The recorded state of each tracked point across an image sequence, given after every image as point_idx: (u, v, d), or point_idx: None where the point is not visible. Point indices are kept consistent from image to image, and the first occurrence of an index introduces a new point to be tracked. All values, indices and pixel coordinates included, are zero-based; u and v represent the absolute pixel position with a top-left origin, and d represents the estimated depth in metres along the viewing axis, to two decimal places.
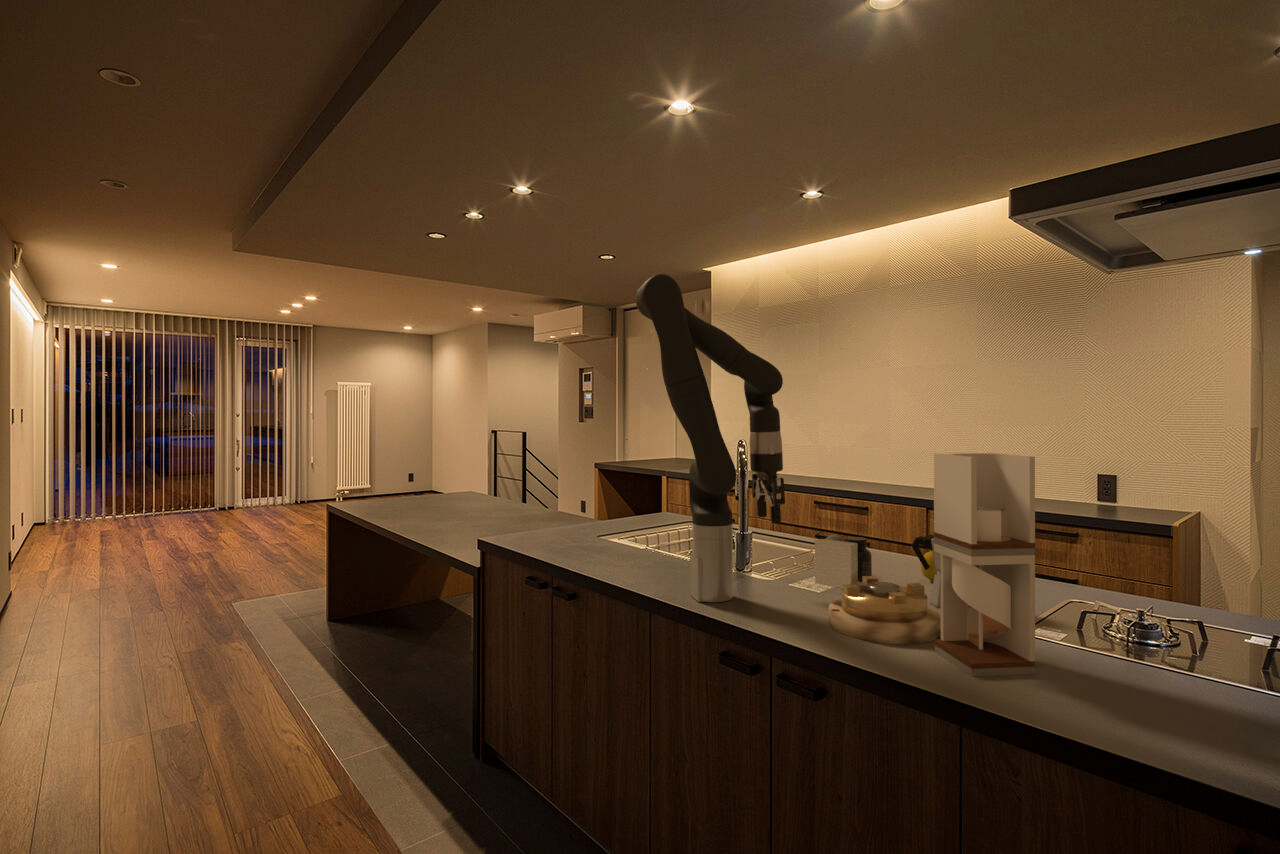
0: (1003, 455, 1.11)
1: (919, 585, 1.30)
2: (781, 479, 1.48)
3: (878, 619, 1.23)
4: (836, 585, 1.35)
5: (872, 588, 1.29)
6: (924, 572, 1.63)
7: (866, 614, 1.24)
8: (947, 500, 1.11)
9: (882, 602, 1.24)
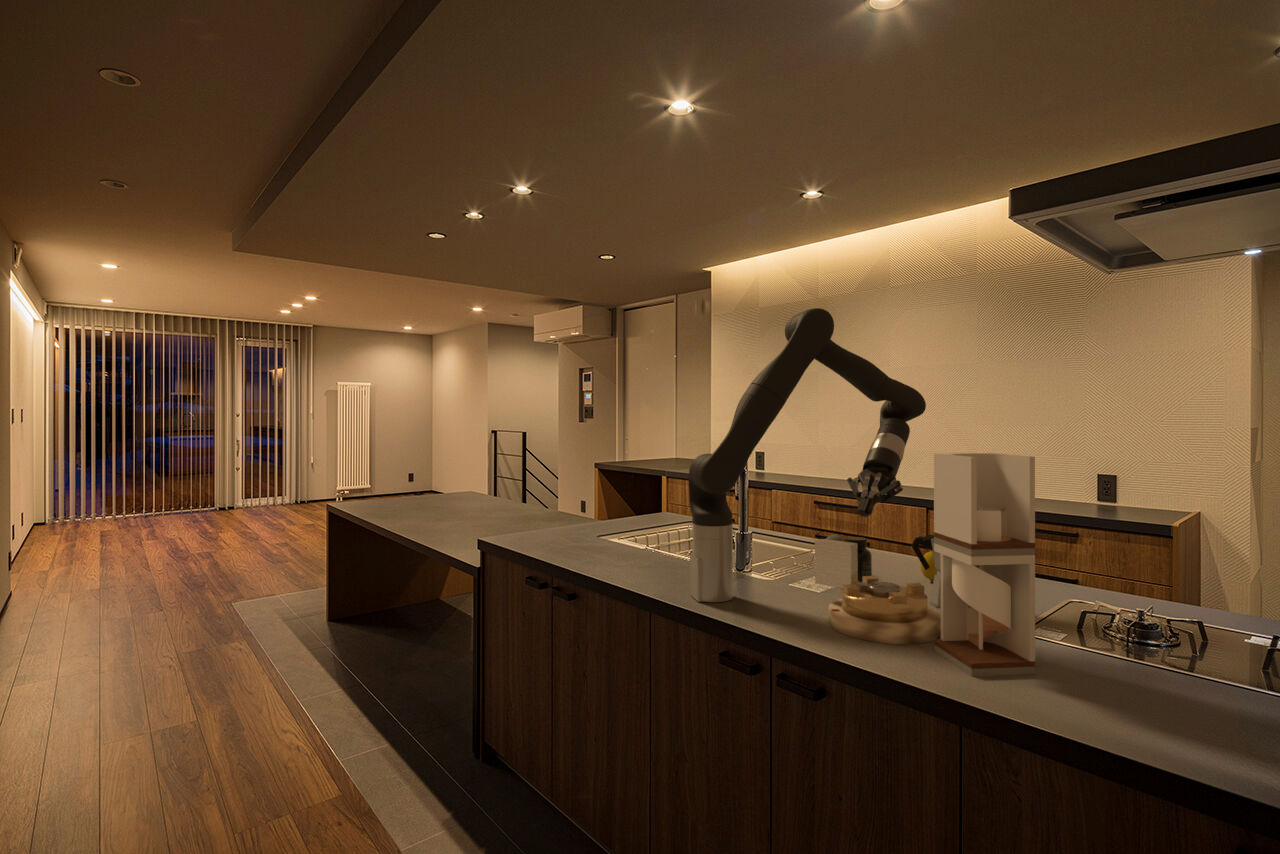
0: (1003, 455, 1.11)
1: (919, 585, 1.30)
2: (901, 488, 1.46)
3: (878, 619, 1.23)
4: (836, 585, 1.35)
5: (872, 588, 1.29)
6: (924, 572, 1.63)
7: (866, 614, 1.24)
8: (947, 500, 1.11)
9: (882, 602, 1.24)
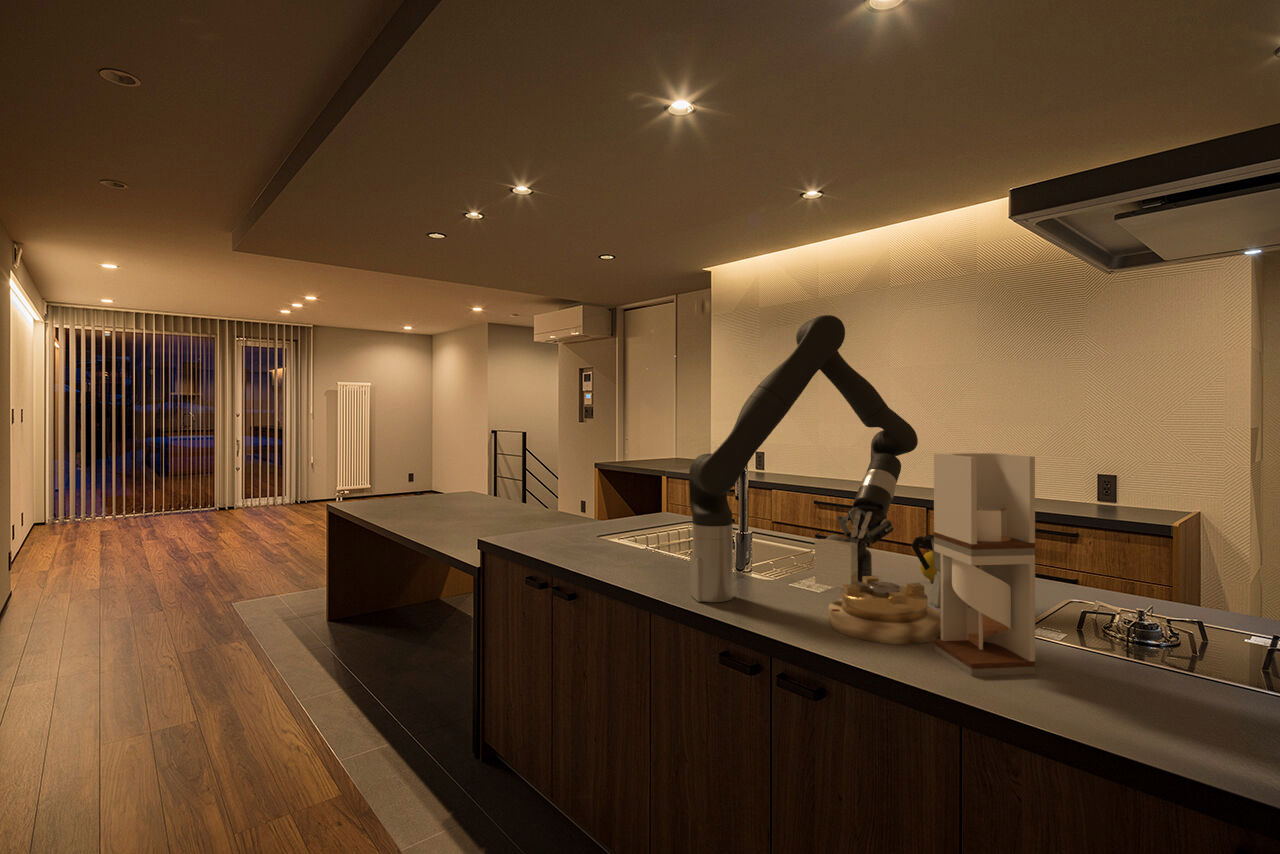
0: (1003, 455, 1.11)
1: (919, 585, 1.30)
2: (892, 528, 1.42)
3: (878, 619, 1.23)
4: (836, 585, 1.35)
5: (872, 588, 1.29)
6: (924, 572, 1.63)
7: (866, 614, 1.24)
8: (947, 500, 1.11)
9: (882, 602, 1.24)
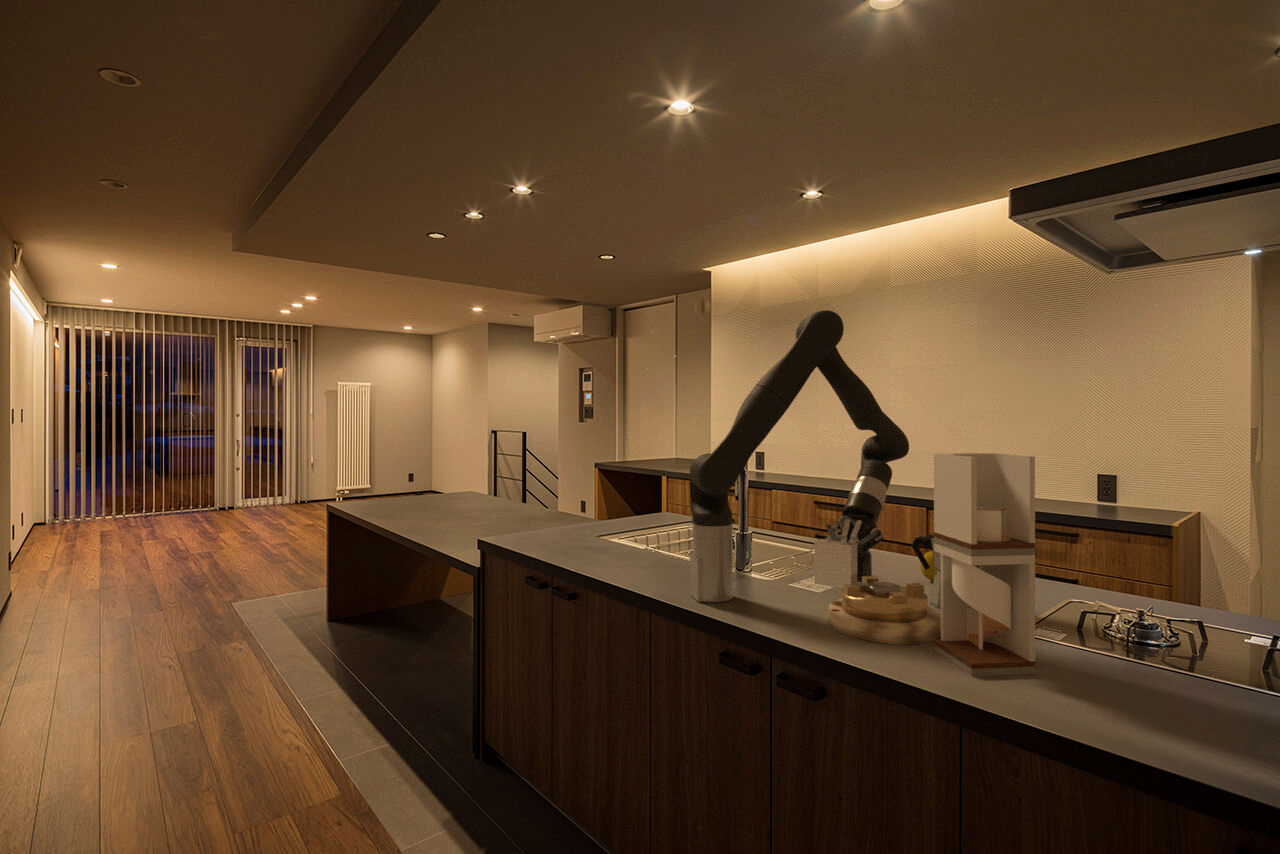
0: (1003, 455, 1.11)
1: (919, 585, 1.30)
2: (882, 537, 1.39)
3: (879, 619, 1.23)
4: (836, 585, 1.35)
5: (872, 588, 1.28)
6: (924, 572, 1.63)
7: (867, 614, 1.24)
8: (947, 500, 1.11)
9: (883, 602, 1.24)
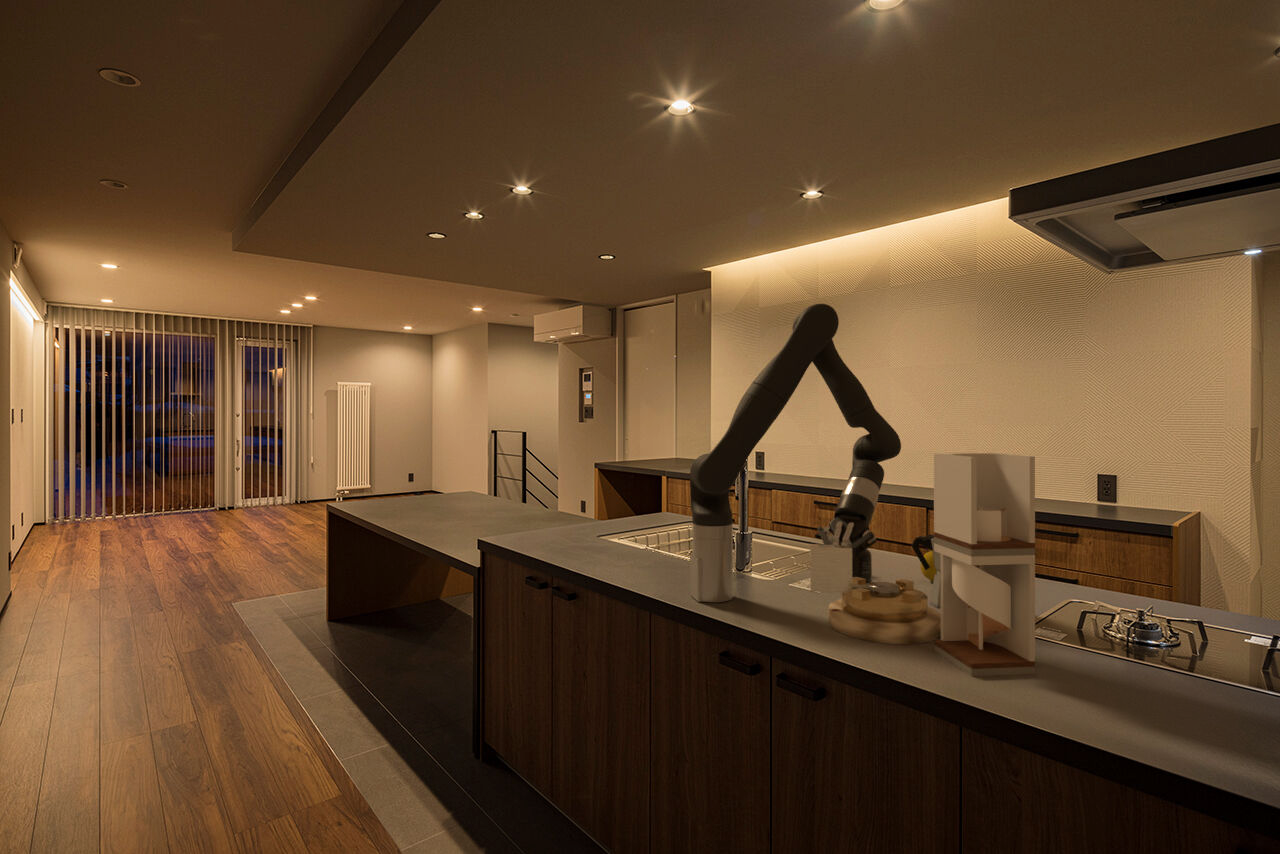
0: (1003, 455, 1.11)
1: (908, 581, 1.33)
2: (875, 540, 1.35)
3: (900, 621, 1.22)
4: (835, 591, 1.31)
5: (879, 589, 1.27)
6: (924, 572, 1.63)
7: (888, 617, 1.22)
8: (947, 500, 1.11)
9: (901, 603, 1.23)
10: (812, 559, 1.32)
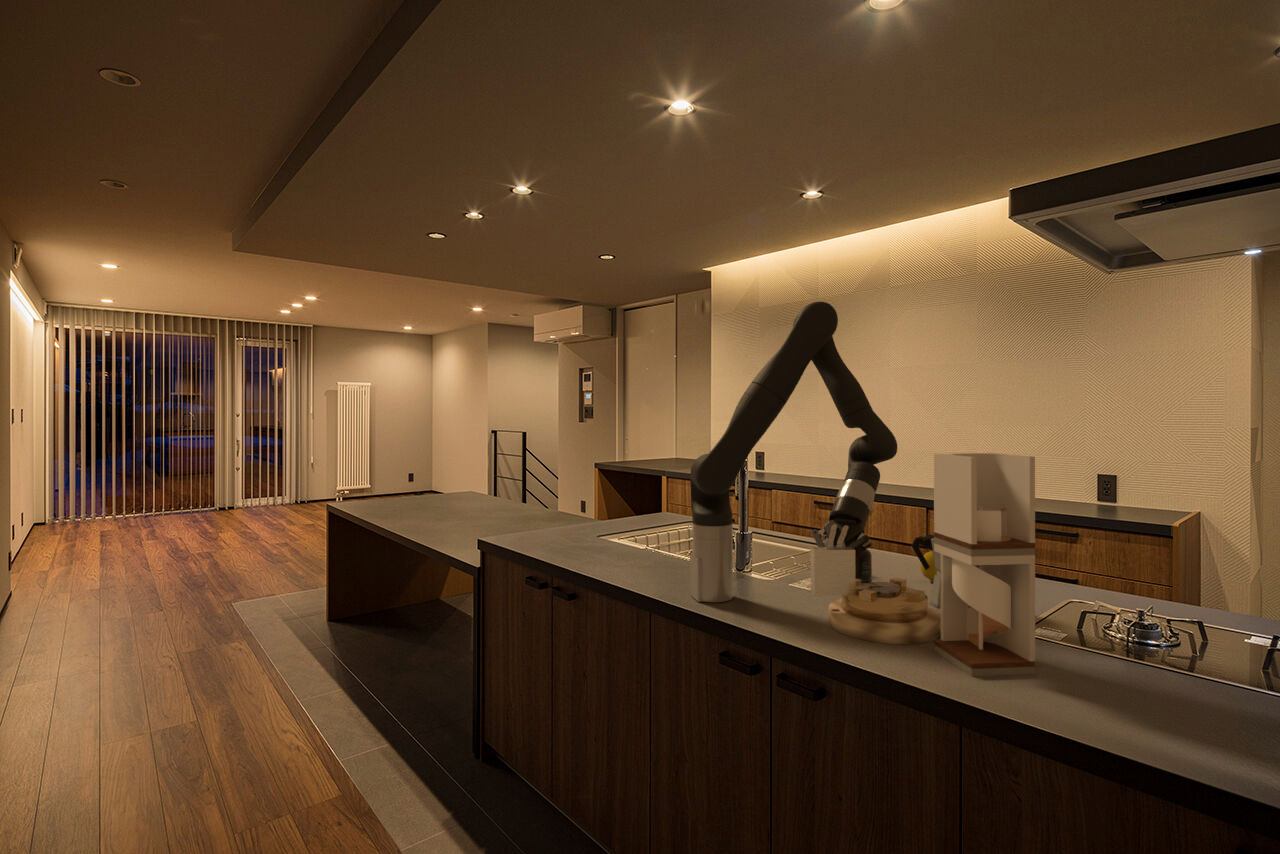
0: (1003, 455, 1.11)
1: (901, 579, 1.34)
2: (870, 543, 1.33)
3: (909, 620, 1.22)
4: (839, 593, 1.29)
5: (883, 590, 1.27)
6: (924, 572, 1.63)
7: (898, 617, 1.22)
8: (947, 500, 1.11)
9: (908, 602, 1.23)
10: (816, 562, 1.29)
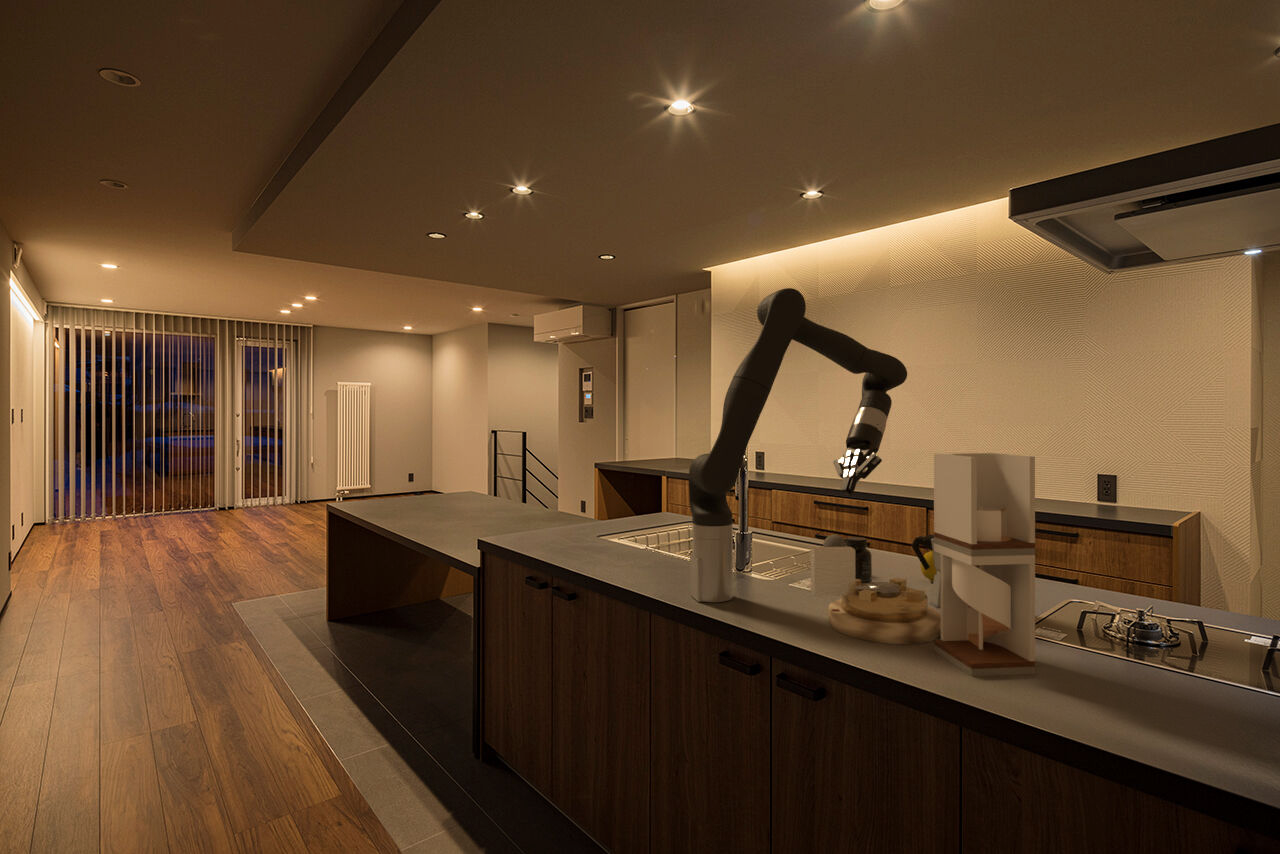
0: (1003, 455, 1.11)
1: (901, 579, 1.34)
2: (880, 460, 1.46)
3: (909, 620, 1.22)
4: (839, 593, 1.29)
5: (883, 590, 1.27)
6: (924, 572, 1.63)
7: (898, 617, 1.22)
8: (947, 500, 1.11)
9: (908, 602, 1.23)
10: (816, 562, 1.29)
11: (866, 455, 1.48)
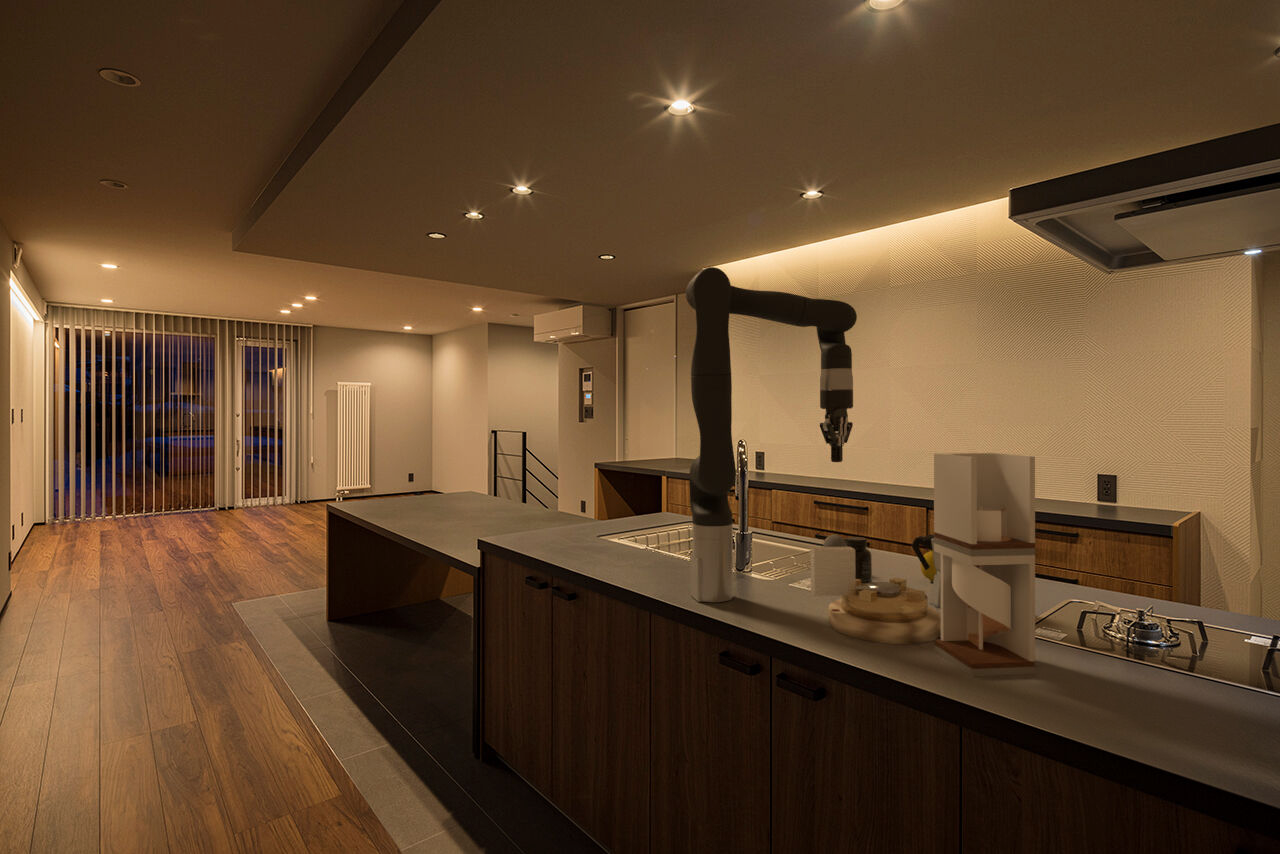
0: (1003, 455, 1.11)
1: (901, 579, 1.34)
2: (827, 425, 1.50)
3: (909, 620, 1.22)
4: (839, 593, 1.29)
5: (883, 590, 1.27)
6: (924, 572, 1.63)
7: (898, 617, 1.22)
8: (947, 500, 1.11)
9: (908, 602, 1.23)
10: (816, 562, 1.29)
11: None
